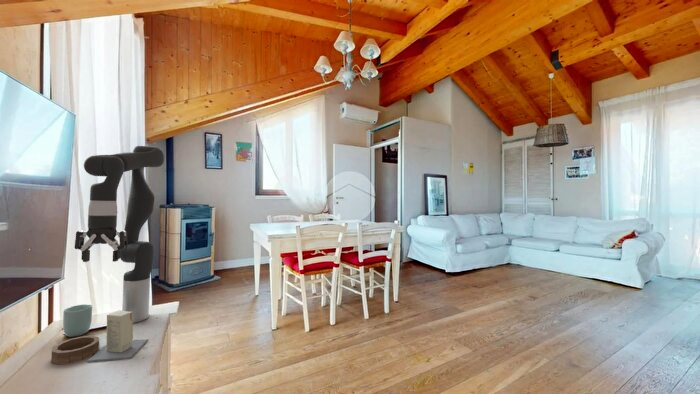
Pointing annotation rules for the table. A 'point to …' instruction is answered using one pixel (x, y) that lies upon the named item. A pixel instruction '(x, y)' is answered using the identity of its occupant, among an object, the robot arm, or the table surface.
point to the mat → (127, 354)
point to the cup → (77, 320)
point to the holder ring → (75, 349)
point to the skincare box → (119, 331)
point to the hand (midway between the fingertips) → (101, 261)
